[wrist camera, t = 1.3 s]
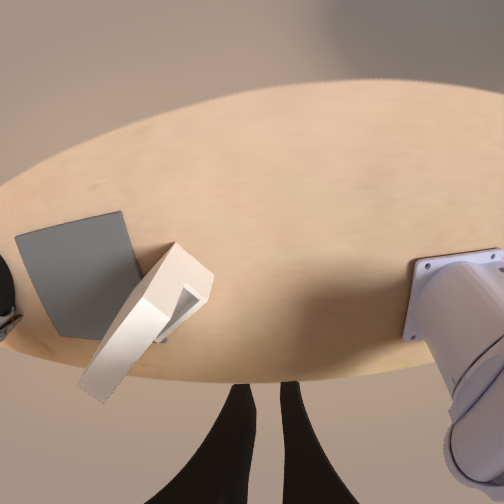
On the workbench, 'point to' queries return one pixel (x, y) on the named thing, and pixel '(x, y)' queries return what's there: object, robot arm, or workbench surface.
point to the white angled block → (147, 318)
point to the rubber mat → (82, 272)
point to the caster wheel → (6, 301)
